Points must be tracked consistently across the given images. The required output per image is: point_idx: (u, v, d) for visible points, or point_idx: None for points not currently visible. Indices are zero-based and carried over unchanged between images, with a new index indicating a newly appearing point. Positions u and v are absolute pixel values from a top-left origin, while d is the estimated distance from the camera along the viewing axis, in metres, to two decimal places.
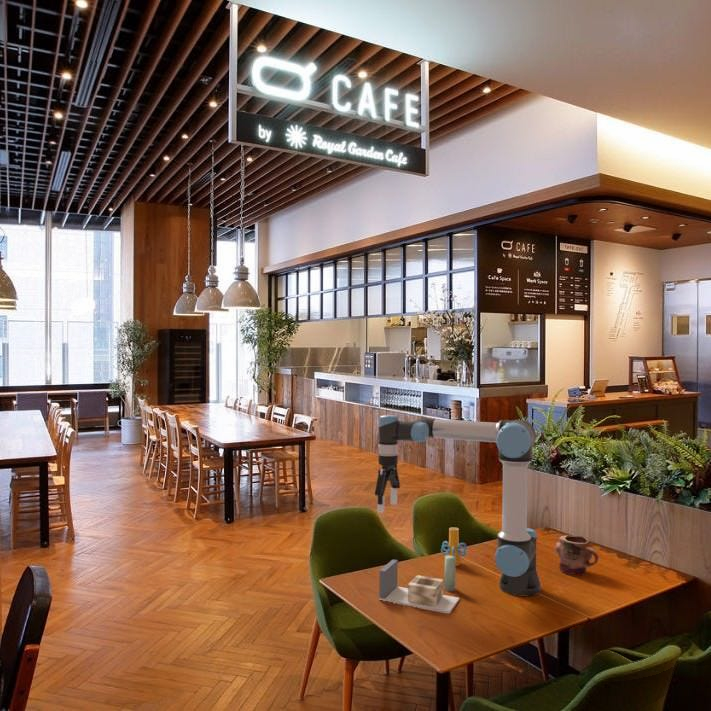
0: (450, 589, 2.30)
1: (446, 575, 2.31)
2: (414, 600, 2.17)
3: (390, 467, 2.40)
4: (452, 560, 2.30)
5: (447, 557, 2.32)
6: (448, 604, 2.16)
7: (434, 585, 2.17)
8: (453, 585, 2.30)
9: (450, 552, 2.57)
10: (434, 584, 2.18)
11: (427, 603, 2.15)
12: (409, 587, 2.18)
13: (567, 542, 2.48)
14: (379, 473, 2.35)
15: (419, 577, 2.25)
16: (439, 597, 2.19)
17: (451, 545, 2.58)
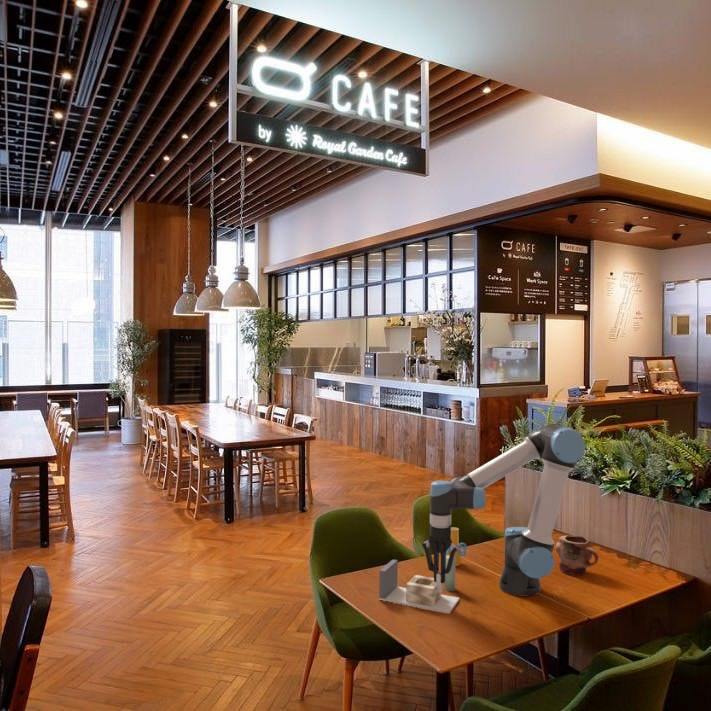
0: (450, 589, 2.30)
1: (446, 575, 2.31)
2: (412, 600, 2.17)
3: (439, 540, 2.17)
4: None
5: (447, 557, 2.32)
6: (448, 604, 2.16)
7: (433, 585, 2.17)
8: (453, 585, 2.30)
9: (450, 552, 2.57)
10: (433, 584, 2.18)
11: (425, 603, 2.15)
12: (407, 587, 2.18)
13: (567, 542, 2.48)
14: None
15: (417, 577, 2.25)
16: (437, 597, 2.19)
17: None
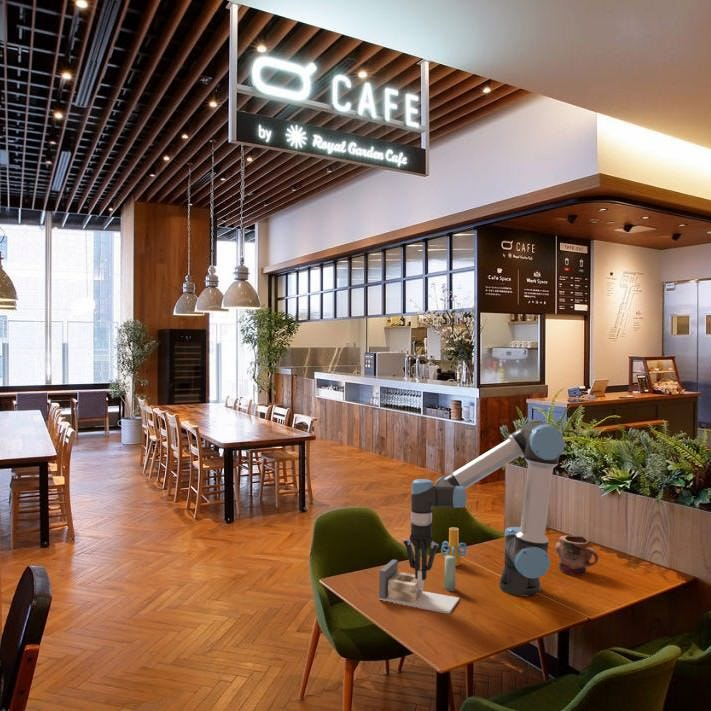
0: (450, 589, 2.30)
1: (446, 575, 2.31)
2: (394, 596, 2.20)
3: (420, 537, 2.20)
4: (452, 560, 2.30)
5: (447, 557, 2.32)
6: (448, 604, 2.16)
7: (414, 582, 2.20)
8: (453, 585, 2.30)
9: (450, 552, 2.57)
10: (414, 581, 2.21)
11: (406, 599, 2.18)
12: (389, 583, 2.21)
13: (567, 542, 2.48)
14: None
15: (399, 574, 2.28)
16: (419, 593, 2.22)
17: (451, 545, 2.57)
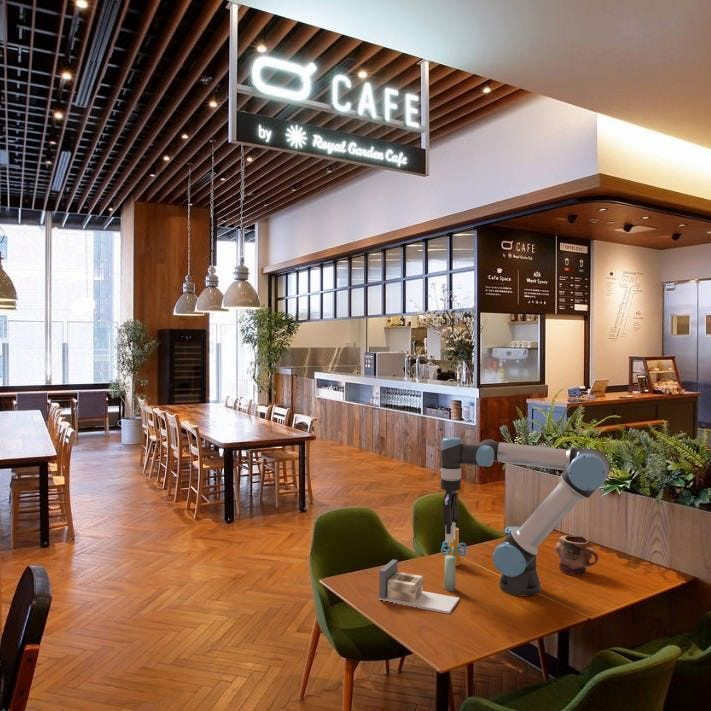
0: (450, 589, 2.30)
1: (446, 575, 2.31)
2: (393, 596, 2.20)
3: (453, 492, 2.31)
4: (452, 560, 2.30)
5: (447, 557, 2.32)
6: (448, 604, 2.16)
7: (414, 582, 2.20)
8: (453, 585, 2.30)
9: (450, 552, 2.57)
10: (414, 581, 2.21)
11: (406, 599, 2.18)
12: (389, 583, 2.21)
13: (567, 542, 2.48)
14: (444, 503, 2.26)
15: (399, 574, 2.28)
16: (418, 593, 2.22)
17: (451, 545, 2.57)
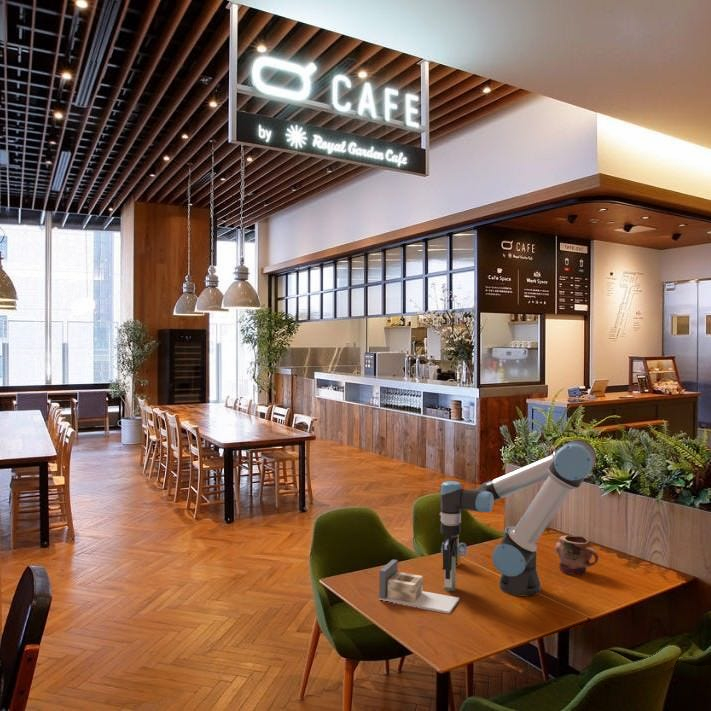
0: (450, 589, 2.30)
1: None
2: (393, 596, 2.20)
3: (453, 536, 2.31)
4: (452, 560, 2.30)
5: None
6: (448, 604, 2.16)
7: (414, 582, 2.20)
8: (453, 585, 2.30)
9: None
10: (414, 581, 2.21)
11: (406, 599, 2.18)
12: (389, 583, 2.21)
13: (567, 542, 2.48)
14: (443, 548, 2.27)
15: (399, 574, 2.28)
16: (418, 593, 2.22)
17: None
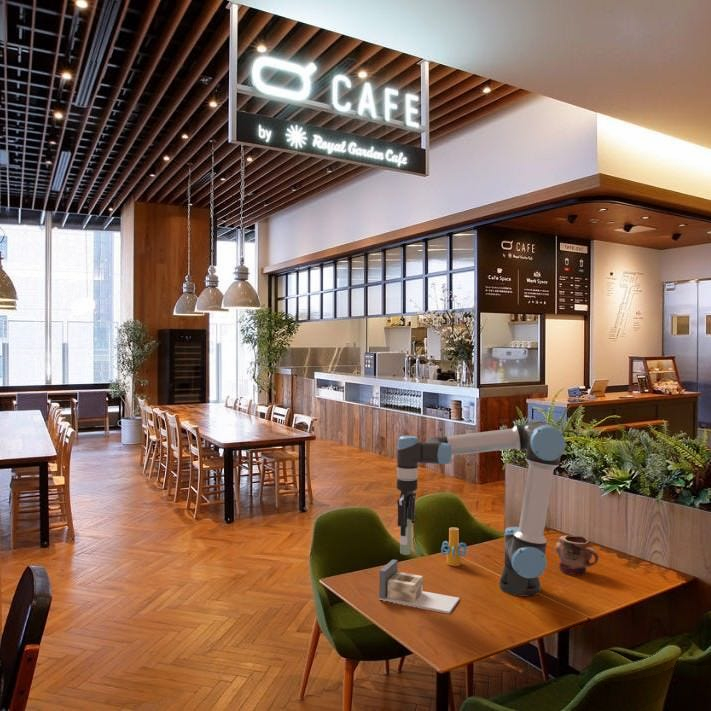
0: (405, 553, 2.22)
1: None
2: (393, 596, 2.20)
3: (409, 492, 2.23)
4: (408, 523, 2.22)
5: None
6: (448, 604, 2.16)
7: (414, 582, 2.20)
8: (409, 549, 2.22)
9: (450, 552, 2.57)
10: (414, 581, 2.21)
11: (406, 599, 2.18)
12: (389, 583, 2.21)
13: (567, 542, 2.48)
14: (398, 504, 2.18)
15: (399, 574, 2.28)
16: (418, 593, 2.22)
17: (451, 545, 2.58)
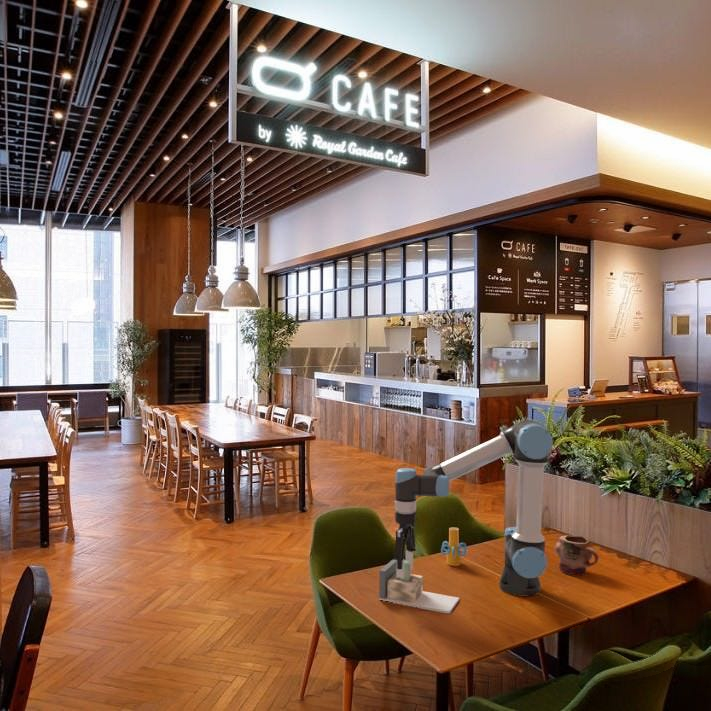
0: None
1: None
2: (393, 596, 2.20)
3: (408, 525, 2.23)
4: (406, 566, 2.21)
5: None
6: (448, 604, 2.16)
7: (414, 582, 2.20)
8: None
9: (450, 552, 2.57)
10: (414, 581, 2.21)
11: (406, 599, 2.18)
12: (389, 583, 2.21)
13: (567, 542, 2.48)
14: (397, 535, 2.18)
15: None
16: (418, 593, 2.22)
17: (451, 545, 2.58)
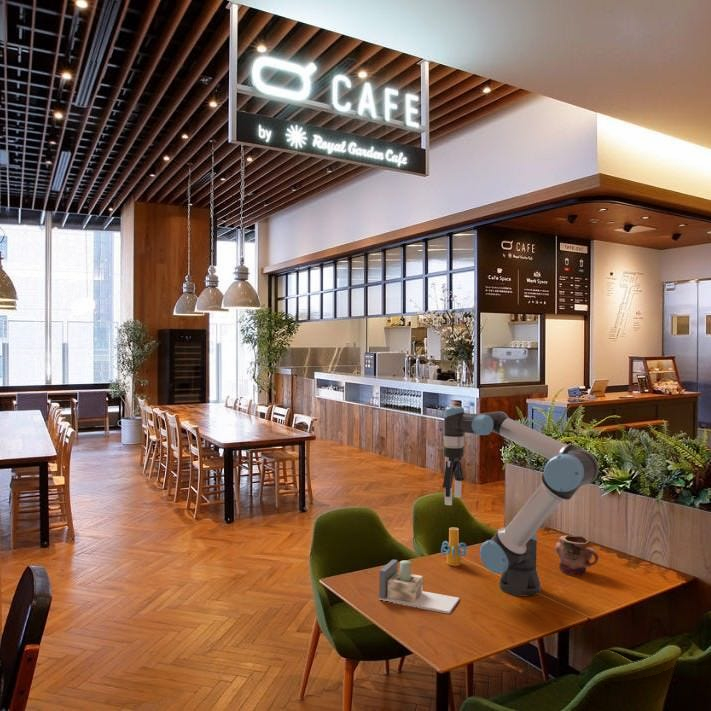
0: None
1: None
2: (393, 596, 2.20)
3: (456, 459, 2.38)
4: (407, 565, 2.22)
5: (402, 562, 2.24)
6: (448, 604, 2.16)
7: (414, 582, 2.20)
8: None
9: (450, 552, 2.57)
10: (414, 581, 2.21)
11: (406, 599, 2.18)
12: (389, 583, 2.21)
13: (567, 542, 2.48)
14: (446, 465, 2.32)
15: (399, 574, 2.28)
16: (418, 593, 2.22)
17: (451, 545, 2.58)
